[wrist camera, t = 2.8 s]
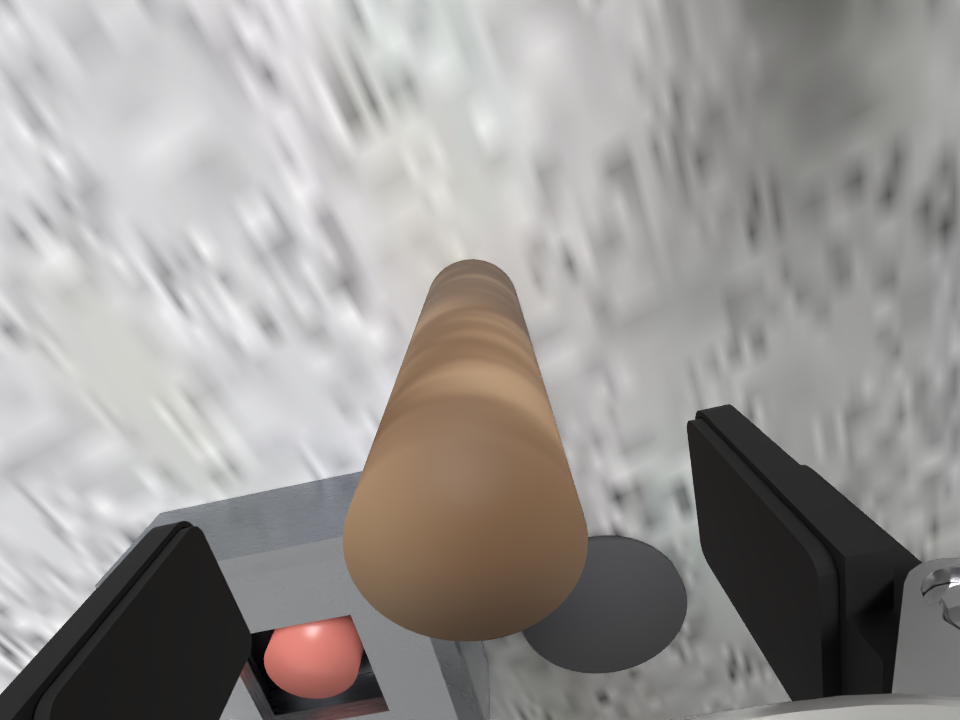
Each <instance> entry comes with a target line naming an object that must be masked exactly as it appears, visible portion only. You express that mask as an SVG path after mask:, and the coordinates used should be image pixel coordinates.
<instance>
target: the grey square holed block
mask: <svg viewBox="0 0 960 720" xmlns="http://www.w3.org/2000/svg"><path fill="white" fill-rule="evenodd" d="M362 472H363V471H362ZM362 472H357V473H352V474H348V475H343V476H338V477H333V478H328V479H323V480H319V481H314V482H309V483H304V484H299V485H295V486H290V487H285V488H280V489H275V490H270V491H266V492H261V493H256V494H251V495H246V496H242V497H237V498H232V499H227V500H222V501H217V502H213V503H208V504H203V505H198V506H193V507H189V508H184V509H179V510H174V511H169V512H164V513H160V514H159V515H158V516H157V517H156V518H155V520H154V521H153V522H152V523H151V524H150V525H149V526H148V527H147V528H146V530H145V531H144V532H143V533H142V534H141V535H140V536H139V537H138V538H137V540H136V541H135V542H134V543H133V544H132V545H131V546H130V547H129V548H128V550H127V551H126V552H125V553H124V554H123V555H122V556H121V557H120V558H119V560H118V561H117V562H116V563H115V564H114V565H113V566H112V567H111V568H110V570H109V571H108V572H107V573H106V574H105V575H104V576H103V577H102V578H101V580H100V581H99V582H98V583H97V584H96V585H95V587H96V589H97V588H98V587H99V586H100V585H101V584H102V582H103V581H104V580H105V579H106V578H107V577H108V576H109V575H110V574H111V573H112V571H113V570H114V569H115V568H116V567H117V566H118V565H119V564H120V563H121V562H122V560H123V559H124V558H125V557H126V556H127V555H128V554H129V553H130V552H131V551H132V550H133V548H134V547H135V546H136V545H137V544H138V543H139V542H140V541H141V540H142V539H143V537H144V536H145V535H146V534H147V533H148V532H149V531H150V530H151V529H153V528H154V527H158V526H162V525H167V524H172V523H176V522H181V521H188V522H190V523H191V524H192V525H193V526H196V527H199V528H200V529H201V530H202V531H203V533H204V535H205V537H206V539H207V541H208V544H209V546H210V548H211V550H212V552H213V554H214V556H215V558H216V560H217V563H218V565H219V567H220V569H221V571H222V573H223V575H224V577H225V579H226V582H227V584H228V586H229V588H230V590H231V592H232V594H233V596H234V599H235V601H236V603H237V605H238V607H239V609H240V611H241V613H242V615H243V618H244V620H245V622H246V624H247V626H248V628H249V630H250V633H256V632H261V631H267V630H272V629H277V628H283V627H288V626H293V625H299V624H304V623H309V622H315V621H320V620H325V619H331V618H336V617H341V616H347V615H351V617H352V620H353V622H354V625H355V627H356V629H357V632H358V634H359V637H360V639H361V642H362V644H363V647H364V649H365V652H366V654H367V657H368V659H369V662H370V664H371V666H372V669H373V671H374V672H371V673H365V674H360V675H357V678H356V680H355V681H354V683H353V684H352V685H351V686H350V687H349V688H348V689H347V690H345V691H344V692H342V693H340V694H338V695H335V696H332V697H328V698H321V699H312V698H304V697H300V696H296V695H293V694H291V693H289V692H287V691H285V690H283V689H276V690H271V691H270V690H269V688H268V686H267V684H266V682H265V680H264V678H263V676H262V674H261V672H260V670H259V668H258V666H257V664H256V662H255V660H254V658H253V656H252V655H251V653H250V655H249V657H248V659H247V661H246V663H245V665H244V668H243V670H242V672H241V674H240V676H239V678H238V681H237V683H236V685H235V687H234V689H233V691H232V693H231V696H230V698H229V700H228V702H227V704H226V706H225V709H224V711H223V713H222V715H221V717H220V719H219V720H490V698H489V664H488V661H487V658H486V654H485V651H484V648H483V644H482V641H468V642H460V641H447V640H441V639H436V638H431V637H428V636H424V635H420V634H417V633H415V632H412V631H410V630H407V629H405V628H403V627H401V626H399V625H397V624H396V623H394V622H392V621H391V620H389V619H388V618H386V617H385V616H383V615H382V614H381V613H379V612H378V611H377V610H376V609H375V608H374V607H373V606H371V605H370V604H369V602H368V601H367V600H366V599H365V598H364V597H363V596H362V594H361V593H360V591H359V590H358V589H357V587H356V586H355V584H354V582H353V580H352V578H351V576H350V574H349V572H348V569H347V565H346V562H345V559H344V552H343V529H344V523H345V518H346V516H347V513H348V510H349V507H350V504H351V501H352V499H353V496H354V493H355V491H356V488H357V485H358V482H359V480H360V477H361V474H362Z"/></svg>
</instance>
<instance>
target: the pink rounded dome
mask: <svg viewBox="0 0 960 720" xmlns="http://www.w3.org/2000/svg"><path fill="white" fill-rule="evenodd" d="M363 650H364V647H363V644H362V642H361V639H360V637H359V634H358V632H357V629H356V627H355V625H354V622H353V620H352V617H351V615H347V616H341V617H336V618H331V619H325V620H320V621H315V622H309V623H304V624H299V625H293V626H288V627H283V628H277V629H275V630H274V633H273V635H272V637H271V640H270V642H269V644H268V647H267V649H266V652H265V655H264V665H265V669H266V672H267V674H268V675H269V677H270V678H271V679H272V681H273V682H274V683H275V684H276V685H277V686H279V687H280V688H281V689H283V690H285V691H287V692H289V693H291V694H293V695H296V696H300V697H304V698H312V699H321V698H328V697H332V696H335V695H338V694H340V693H342V692H344V691H345V690H347V689H348V688H349V687H350V686H351V685H352V684H353V683H354V681H355V680H356V678H357V675H358V671H359V667H360V663H361V658H362V654H363Z"/></svg>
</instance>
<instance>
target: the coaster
mask: <svg viewBox="0 0 960 720" xmlns="http://www.w3.org/2000/svg"><path fill="white" fill-rule="evenodd" d="M686 610H687V595H686V591H685V587H684V585H683V582H682V580H681V578H680V576H679V574H678V572H677V570H676V568H675V567H674V565H673V564H672V563H671V561H670V560H669V559H668V558H667V557H666V556H665V555H664V554H662V553H661V552H660V551H658V550H657V549H655V548H654V547H652V546H650V545H648V544H646V543H644V542H641V541H638V540H635V539H632V538H627V537H621V536H595V537H588V552H587V557H586V561H585V566H584V568H583V571H582V574H581V576H580V578H579V580H578V582H577V584H576V586H575V587H574V589H573V590H572V592H571V593H570V594H569V596H568V597H567V598H566V600H565V601H564V602H563V603H562V604H561V605H560V606H559V607H558V608H557V609H556V610H554V611H553V612H552V613H551V614H549V615H548V616H547V617H546V618H544V619H542V620H541V621H539V622H537V623H536V624H534V625H532V626H530V627H528V628H526V629H524V630H523V632H524V635H525V637H526V638H527V640H528V642H529V643H530V645H531V646H532V647H533V648H534V649H535V650H536V651H537V652H538V653H539V654H540V655H541V656H542V657H544V658H545V659H547V660H548V661H550V662H552V663H554V664H555V665H558V666H560V667H563V668H565V669H569V670H572V671H577V672H583V673H609V672H616V671H621V670H625V669H628V668H631V667H634V666H637V665H639V664H641V663H644V662H646V661H647V660H649V659H651V658H653V657H654V656H656V655H657V654H658V653H660V652H661V651H662V650H663V649H664V648H666V647H667V646H668V645H669V644H670V643H671V641H672V640H673V639H674V638H675V636H676V635H677V633H678V632H679V630H680V628H681V626H682V624H683V622H684V619H685V615H686Z"/></svg>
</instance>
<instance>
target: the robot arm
mask: <svg viewBox="0 0 960 720" xmlns="http://www.w3.org/2000/svg"><path fill="white" fill-rule="evenodd" d="M687 433H688V442H689V450H690V458H691V467H692V475H693V484H694V492H695V501H696V509H697V518H698V526H699V534H700V542H701V547H702V551H703V554H704V556H705V559H706V561H707V563H708V565H709V566H710V568H711V570H712V571H713V573H714V574H715V576H716V578H717V579H718V581H719V583H720V584H721V586H722V588H723V589H724V591H725V592H726V594H727V596H728V597H729V599H730V601H731V602H732V604H733V605H734V607H735V609H736V610H737V612H738V614H739V615H740V617H741V618H742V620H743V622H744V623H745V625H746V627H747V628H748V630H749V632H750V633H751V635H752V636H753V638H754V640H755V641H756V643H757V645H758V646H759V648H760V649H761V651H762V653H763V654H764V656H765V658H766V659H767V661H768V662H769V664H770V666H771V667H772V669H773V671H774V672H775V674H776V676H777V677H778V679H779V680H780V682H781V684H782V685H783V687H784V689H785V690H786V692H787V693H788V695H789V697H790V698H791V700H792V702H783V703H774V704H768V705H761V706H755V707H748V708H742V709H735V710H729V711H723V712H716V713H710V714H704V715H697V716H691V717H685V718H678V719H672V720H960V558H948V559H936V560H932V561H928V562H925V563H922V562H921V561H919V560H918V559H917V558H916V557H915V556H914V555H912V554H911V553H910V552H909V551H908V550H907V549H905V548H904V547H903V546H902V545H901V544H899V543H898V542H897V541H896V540H895V539H894V538H892V537H891V536H890V535H889V534H888V533H887V532H885V531H884V530H883V529H882V528H881V527H880V526H878V525H877V524H876V523H875V522H874V521H873V520H871V519H870V518H869V517H868V516H867V515H866V514H864V513H863V512H862V511H861V510H860V509H859V508H857V507H856V506H855V505H854V504H853V503H851V502H850V501H849V500H848V499H847V498H846V497H844V496H843V495H842V494H841V493H840V492H839V491H837V490H836V489H835V488H834V487H833V486H832V485H830V484H829V483H828V482H827V481H826V480H825V479H823V478H822V477H821V476H820V475H819V474H818V473H816V472H815V471H814V470H813V469H811V468H810V467H808V466H806V465H800V464H798V463H797V462H796V461H795V460H794V459H793V458H792V457H790V456H789V455H788V454H787V453H786V452H785V451H784V450H782V449H781V448H780V447H779V446H778V445H777V444H776V443H774V442H773V441H772V440H771V439H770V438H769V437H768V436H766V435H765V434H764V433H763V432H762V431H761V430H760V429H758V428H757V427H756V426H755V425H754V424H753V423H751V422H750V421H749V420H748V419H747V418H746V417H745V416H743V415H742V414H741V413H740V412H739V411H738V410H737V409H735V408H734V407H733V406H732V405H730V404H729V405H723V406H719V407H714V408H709V409H705V410H700V411H697V413H696V417H695V420H691V421H688V423H687ZM251 647H252V637H251V633H250V630H249V628H248V626H247V624H246V622H245V620H244V618H243V615H242V613H241V611H240V609H239V607H238V605H237V603H236V601H235V599H234V596H233V594H232V592H231V590H230V588H229V586H228V584H227V582H226V579H225V577H224V575H223V573H222V571H221V569H220V567H219V565H218V563H217V560H216V558H215V556H214V554H213V552H212V550H211V548H210V546H209V544H208V541H207V539H206V537H205V535H204V533H203V531H202V530H201V529H200V528H199V527H196V526H193V525H192V524H191V523H190V522H188V521H181V522H176V523H172V524H167V525H162V526H158V527H154V528H153V529H151V530H150V531H149V532H148V533H147V534H146V535H145V536H144V537H143V539H142V540H141V541H140V542H139V543H138V544H137V545H136V546H135V547H134V548H133V550H132V551H131V552H130V553H129V554H128V555H127V556H126V557H125V558H124V559H123V560H122V562H121V563H120V564H119V565H118V566H117V567H116V568H115V569H114V570H113V571H112V573H111V574H110V575H109V576H108V577H107V578H106V579H105V580H104V581H103V582H102V584H101V585H100V586H99V587H98V588H97V589H96V590H95V591H94V592H93V593H92V595H91V596H90V597H89V598H88V599H87V600H86V601H85V602H84V603H83V604H82V606H81V607H80V608H79V609H78V610H77V611H76V612H75V613H74V614H73V615H72V617H71V618H70V619H69V620H68V621H67V622H66V623H65V624H64V625H63V626H62V628H61V629H60V630H59V631H58V632H57V633H56V634H55V635H54V636H53V637H52V639H51V640H50V641H49V642H48V643H47V644H46V645H45V646H44V647H43V648H42V650H41V651H40V652H39V653H38V654H37V655H36V656H35V657H34V658H33V659H32V661H31V662H30V663H29V664H28V665H27V666H26V667H25V668H24V669H23V670H22V671H21V673H20V674H19V675H18V676H17V677H16V678H15V679H14V680H13V681H12V682H11V684H10V685H9V686H8V687H7V688H6V689H5V690H4V691H3V692H2V693H1V695H0V720H219V719H220V717H221V715H222V713H223V711H224V709H225V706H226V704H227V702H228V700H229V698H230V696H231V693H232V691H233V689H234V687H235V685H236V683H237V681H238V678H239V676H240V674H241V672H242V670H243V668H244V665H245V663H246V661H247V659H248V657H249V655H250V652H251Z"/></svg>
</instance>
